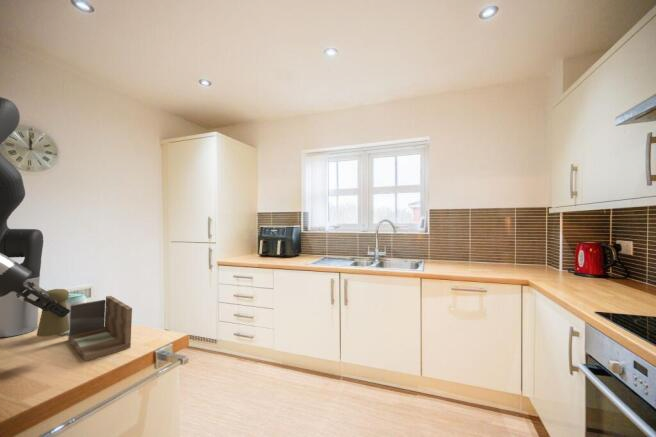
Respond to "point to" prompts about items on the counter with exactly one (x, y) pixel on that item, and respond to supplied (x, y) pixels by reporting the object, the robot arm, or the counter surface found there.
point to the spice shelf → (100, 327)
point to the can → (72, 300)
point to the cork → (54, 316)
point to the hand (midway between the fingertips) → (64, 311)
